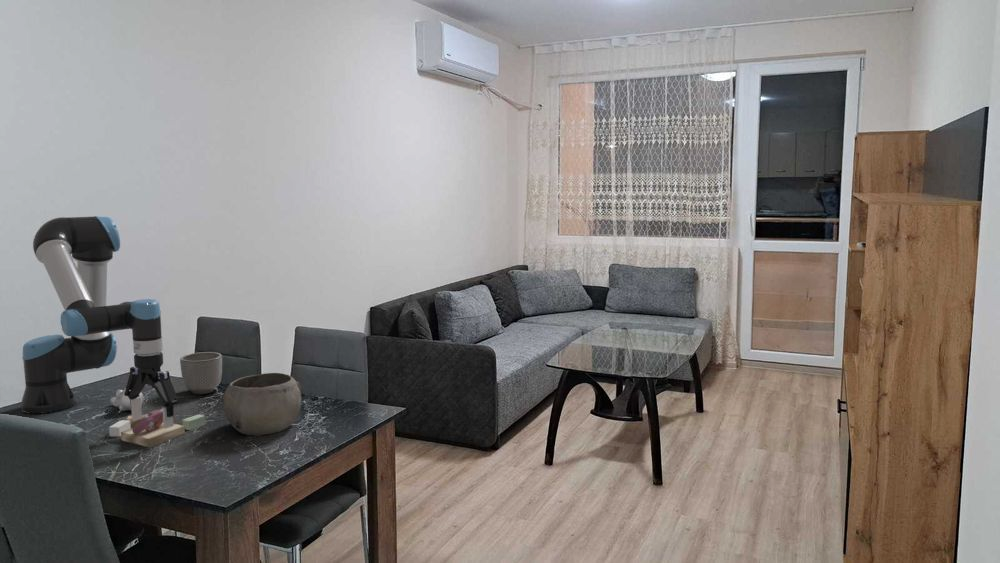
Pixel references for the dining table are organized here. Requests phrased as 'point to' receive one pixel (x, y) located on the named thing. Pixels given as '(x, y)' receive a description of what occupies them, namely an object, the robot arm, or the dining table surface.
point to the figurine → (123, 400)
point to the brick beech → (133, 423)
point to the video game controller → (149, 422)
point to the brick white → (119, 427)
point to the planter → (201, 371)
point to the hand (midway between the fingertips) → (152, 423)
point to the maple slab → (153, 435)
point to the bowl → (262, 403)
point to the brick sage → (194, 422)
